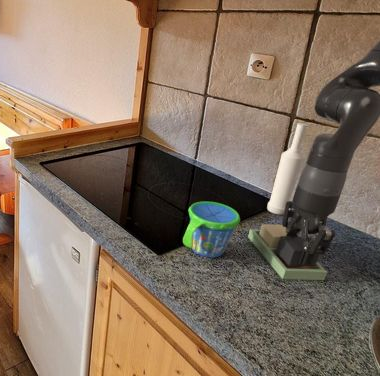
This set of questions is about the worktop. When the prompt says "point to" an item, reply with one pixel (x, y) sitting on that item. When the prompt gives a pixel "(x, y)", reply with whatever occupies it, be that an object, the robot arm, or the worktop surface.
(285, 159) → the bottle
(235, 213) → the snack cup
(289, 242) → the dark gray block
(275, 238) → the foam pad
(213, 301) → the worktop surface
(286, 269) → the frame
